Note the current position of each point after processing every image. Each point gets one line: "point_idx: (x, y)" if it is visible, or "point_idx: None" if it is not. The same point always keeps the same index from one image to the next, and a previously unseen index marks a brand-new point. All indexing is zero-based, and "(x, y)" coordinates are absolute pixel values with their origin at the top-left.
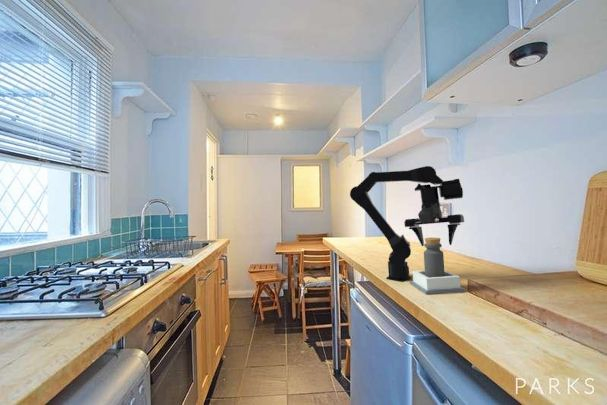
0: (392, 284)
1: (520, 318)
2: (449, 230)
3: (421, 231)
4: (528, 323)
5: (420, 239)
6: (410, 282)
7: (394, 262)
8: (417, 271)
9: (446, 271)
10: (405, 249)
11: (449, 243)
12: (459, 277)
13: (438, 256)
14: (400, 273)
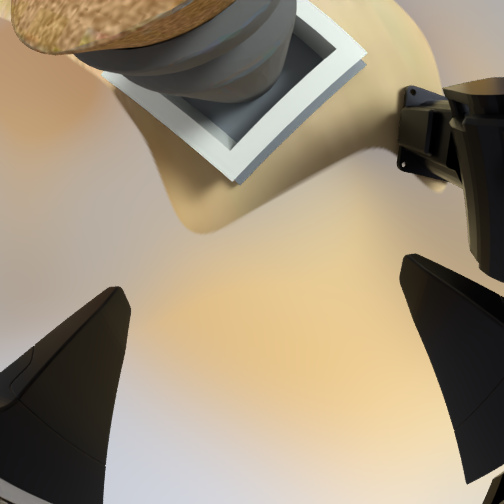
0: (416, 33)
1: (10, 15)
2: (11, 394)
3: (468, 423)
4: (4, 7)
5: (459, 287)
6: (360, 61)
7: (484, 79)
8: (338, 52)
9: (188, 134)
10: (499, 94)
11: (111, 291)
12: (104, 73)
13: None
14: (434, 106)
